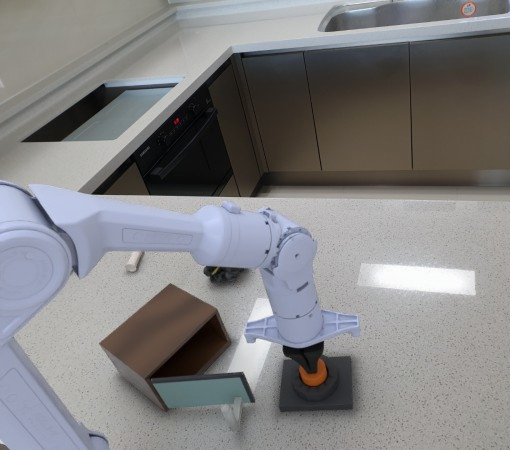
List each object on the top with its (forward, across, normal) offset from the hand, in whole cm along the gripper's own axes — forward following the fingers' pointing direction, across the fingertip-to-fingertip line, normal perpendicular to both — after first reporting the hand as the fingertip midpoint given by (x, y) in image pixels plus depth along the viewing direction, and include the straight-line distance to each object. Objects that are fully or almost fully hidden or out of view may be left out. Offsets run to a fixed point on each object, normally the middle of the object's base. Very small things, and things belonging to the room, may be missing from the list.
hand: (312, 367), depth 63 cm
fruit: (+5, +18, -28) cm, 33 cm away
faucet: (+5, +47, -29) cm, 55 cm away
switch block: (+4, 0, 0) cm, 4 cm away
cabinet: (+4, +23, -6) cm, 24 cm away
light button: (+2, 0, 0) cm, 2 cm away
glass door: (+3, +15, +5) cm, 16 cm away
